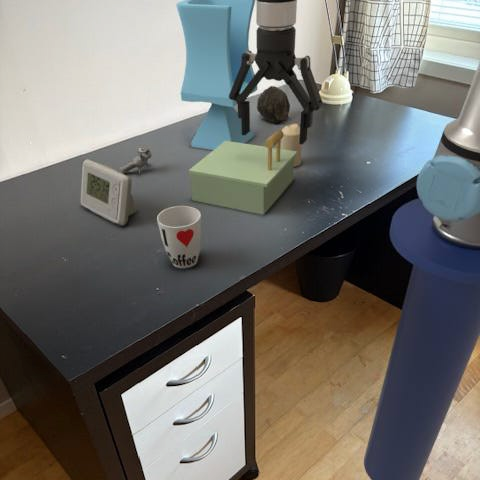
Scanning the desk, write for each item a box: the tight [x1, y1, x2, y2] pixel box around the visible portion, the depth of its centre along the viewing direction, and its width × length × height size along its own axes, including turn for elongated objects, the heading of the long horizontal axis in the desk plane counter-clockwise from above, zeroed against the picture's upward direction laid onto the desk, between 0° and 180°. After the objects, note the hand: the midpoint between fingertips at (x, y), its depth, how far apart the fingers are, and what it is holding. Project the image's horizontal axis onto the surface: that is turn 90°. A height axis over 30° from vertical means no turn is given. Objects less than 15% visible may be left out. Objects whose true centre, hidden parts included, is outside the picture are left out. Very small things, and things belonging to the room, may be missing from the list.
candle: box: [280, 123, 303, 168], centre depth 124 cm, size 6×6×10 cm
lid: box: [188, 129, 297, 187], centre depth 109 cm, size 19×19×8 cm
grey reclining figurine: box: [119, 147, 152, 175], centre depth 125 cm, size 10×6×9 cm
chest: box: [188, 158, 294, 216], centre depth 114 cm, size 19×19×7 cm
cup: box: [156, 205, 202, 269], centre depth 91 cm, size 8×8×10 cm
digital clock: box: [80, 158, 136, 227], centre depth 107 cm, size 16×9×11 cm, turn 37°
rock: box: [256, 85, 291, 123], centre depth 150 cm, size 10×11×10 cm
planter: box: [176, 0, 258, 151], centre depth 129 cm, size 16×16×35 cm
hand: (273, 137), depth 105 cm, fingers open, 13 cm apart
